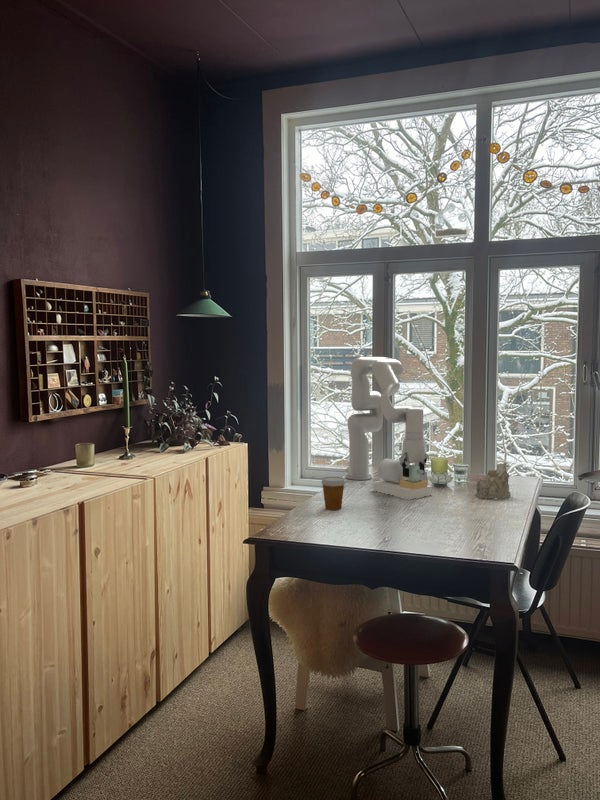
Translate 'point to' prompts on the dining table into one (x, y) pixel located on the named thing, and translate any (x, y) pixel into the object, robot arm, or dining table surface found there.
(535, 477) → the dining table surface
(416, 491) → the motor plinth
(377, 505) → the dining table surface
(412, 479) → the drain pump
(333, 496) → the disposable coffee cup
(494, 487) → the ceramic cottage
